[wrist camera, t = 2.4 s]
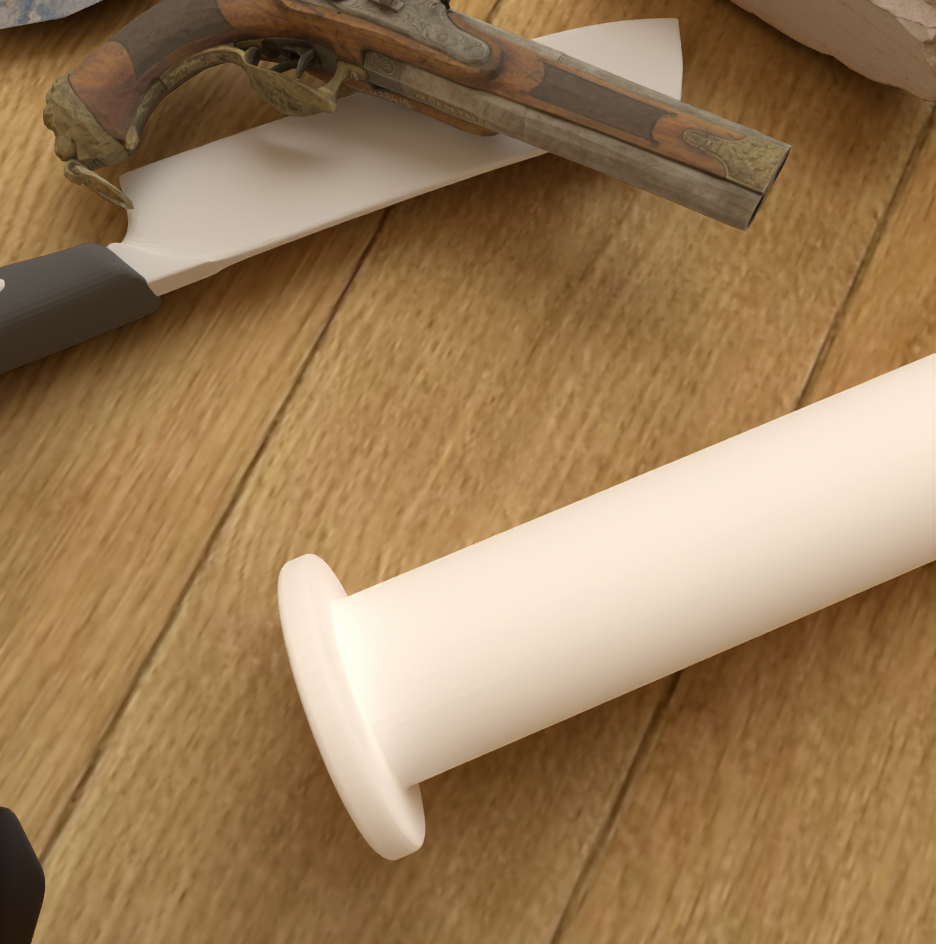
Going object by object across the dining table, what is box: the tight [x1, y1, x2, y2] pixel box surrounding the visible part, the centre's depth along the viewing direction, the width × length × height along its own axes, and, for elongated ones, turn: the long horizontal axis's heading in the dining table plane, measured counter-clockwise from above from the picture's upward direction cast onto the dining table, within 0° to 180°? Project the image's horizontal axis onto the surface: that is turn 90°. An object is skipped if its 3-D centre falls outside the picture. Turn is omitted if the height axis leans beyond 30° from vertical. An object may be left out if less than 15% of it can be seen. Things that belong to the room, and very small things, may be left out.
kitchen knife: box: [0, 18, 683, 374], centre depth 23 cm, size 29×3×5 cm
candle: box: [277, 353, 936, 860], centre depth 20 cm, size 7×7×25 cm
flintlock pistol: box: [43, 0, 791, 231], centre depth 21 cm, size 19×4×10 cm
